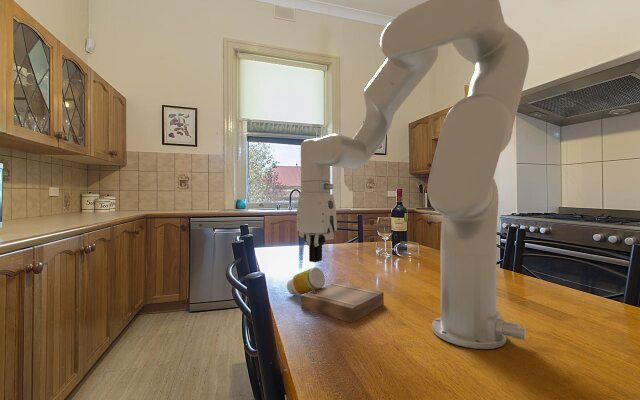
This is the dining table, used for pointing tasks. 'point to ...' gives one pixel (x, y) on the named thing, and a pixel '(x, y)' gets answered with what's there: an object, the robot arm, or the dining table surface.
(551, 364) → the dining table surface
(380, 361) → the dining table surface
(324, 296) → the walnut board
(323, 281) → the supplement bottle
